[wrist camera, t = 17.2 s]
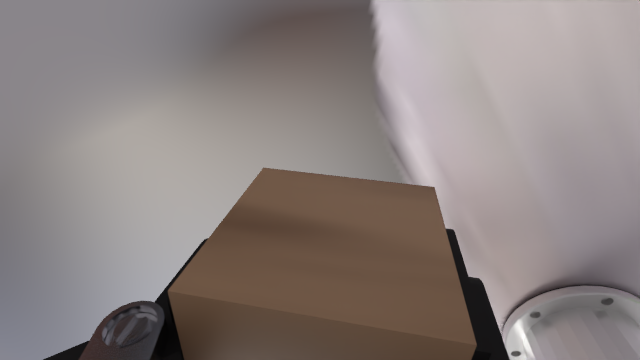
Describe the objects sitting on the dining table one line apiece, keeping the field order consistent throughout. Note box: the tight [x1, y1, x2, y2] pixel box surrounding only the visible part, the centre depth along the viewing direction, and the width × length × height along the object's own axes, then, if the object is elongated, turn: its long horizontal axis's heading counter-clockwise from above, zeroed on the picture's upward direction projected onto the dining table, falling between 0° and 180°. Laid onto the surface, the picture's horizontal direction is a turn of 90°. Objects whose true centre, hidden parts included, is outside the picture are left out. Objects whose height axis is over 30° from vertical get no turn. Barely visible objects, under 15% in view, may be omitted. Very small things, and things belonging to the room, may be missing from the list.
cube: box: [168, 168, 477, 360], centre depth 9 cm, size 5×5×5 cm
